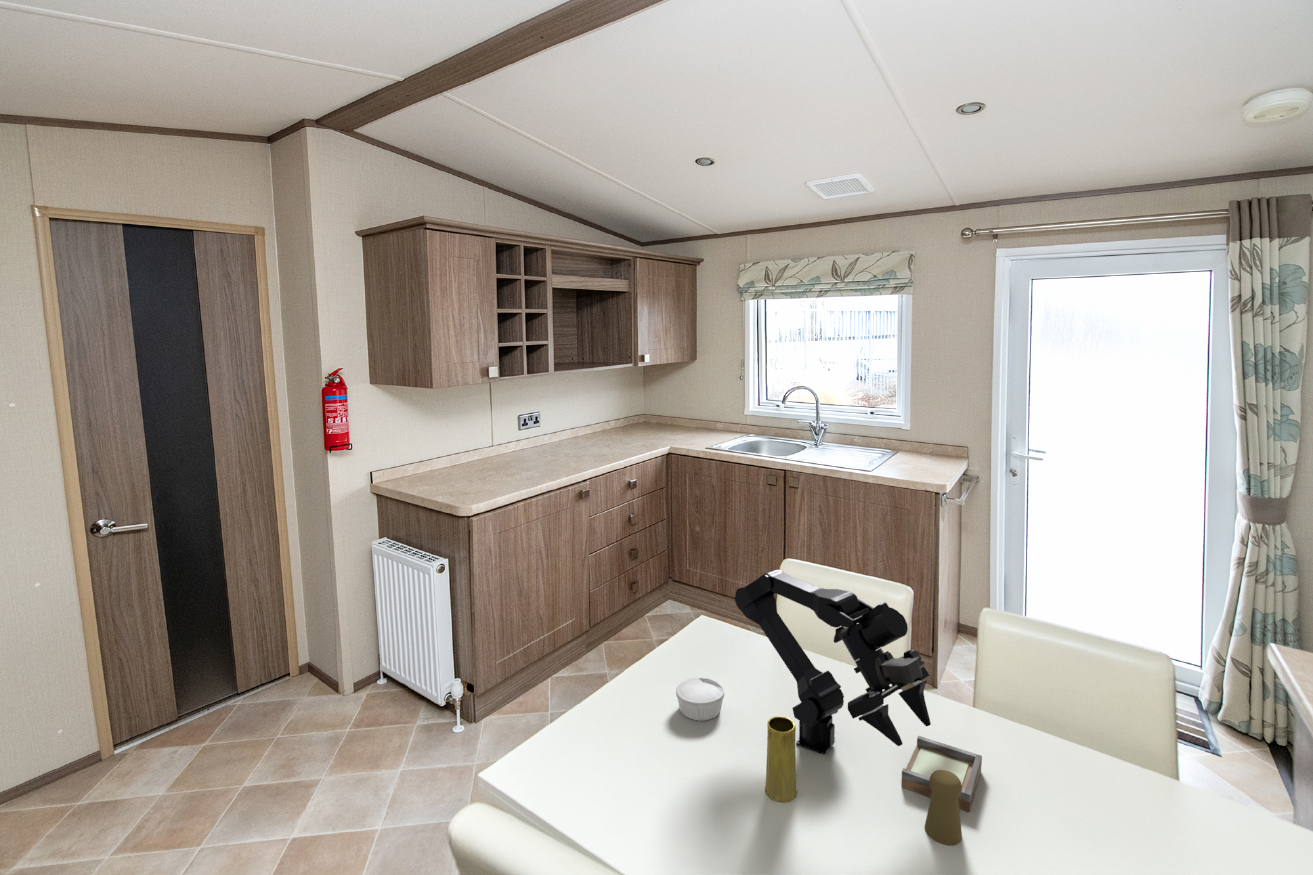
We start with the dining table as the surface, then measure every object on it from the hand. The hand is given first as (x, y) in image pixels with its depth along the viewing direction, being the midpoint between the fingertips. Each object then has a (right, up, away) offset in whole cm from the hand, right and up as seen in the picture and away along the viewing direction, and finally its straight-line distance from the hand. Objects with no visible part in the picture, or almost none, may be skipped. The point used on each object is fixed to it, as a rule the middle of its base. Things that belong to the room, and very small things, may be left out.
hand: (914, 735), depth 119 cm
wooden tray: (+8, -12, +8) cm, 17 cm away
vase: (-24, -14, +6) cm, 28 cm away
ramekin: (-37, -10, +33) cm, 51 cm away
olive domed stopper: (+3, -15, -5) cm, 16 cm away
